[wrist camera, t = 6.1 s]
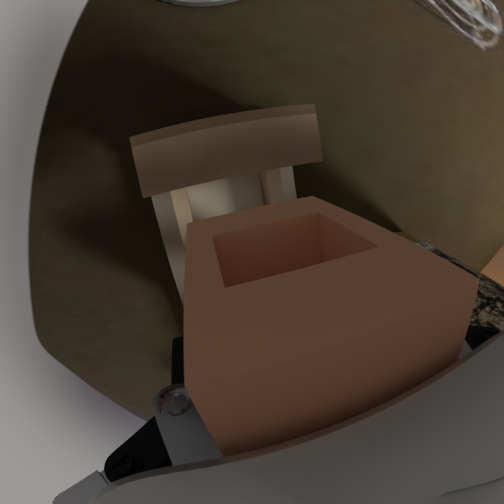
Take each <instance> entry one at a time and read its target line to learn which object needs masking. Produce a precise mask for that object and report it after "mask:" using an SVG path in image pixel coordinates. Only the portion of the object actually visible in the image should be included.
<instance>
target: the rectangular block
mask: <svg viewBox="0 0 504 504" xmlns="http://www.w3.org/2000/svg"><path fill="white" fill-rule="evenodd" d="M479 282H480V279H479V278H477V277H475V276H473V275H472V274H470V273H468V272H467V271H465V270H463V269H461V268H460V267H458V266H456V265H454V264H453V263H451V262H449V261H447V260H445V259H444V258H442V257H440V256H438V255H436V254H434V253H432V252H431V251H429V250H427V249H425V248H423V247H421V246H419V245H417V244H415V243H413V242H411V241H409V240H407V239H405V238H403V237H401V236H399V235H397V234H395V233H393V232H391V231H389V230H387V229H385V228H383V227H381V226H379V225H377V224H375V223H373V222H371V221H368V220H366V219H364V218H362V217H360V216H358V215H355V214H353V213H351V212H349V211H347V210H344V209H342V208H340V207H337V206H335V205H333V204H331V203H328V202H326V201H324V200H321V199H319V198H317V197H314V196H309V197H304V198H299V199H294V200H289V201H284V202H279V203H274V204H270V205H265V206H260V207H255V208H251V209H246V210H242V211H237V212H233V213H228V214H224V215H220V216H215V217H211V218H207V219H203V220H198V221H194V222H190V223H187V233H186V251H185V276H184V384H185V388H186V390H187V392H188V394H189V396H190V398H191V400H192V402H193V404H194V405H195V407H196V409H197V411H198V413H199V415H200V417H201V418H202V420H203V422H204V424H205V426H206V427H207V429H208V431H209V433H210V434H211V436H212V438H213V440H214V441H215V443H216V445H217V446H218V448H219V450H220V451H221V453H222V454H223V456H224V457H225V456H230V455H235V454H239V453H243V452H248V451H252V450H256V449H260V448H264V447H268V446H271V445H275V444H279V443H282V442H285V441H289V440H292V439H295V438H298V437H301V436H304V435H307V434H310V433H313V432H316V431H319V430H321V429H324V428H327V427H330V426H332V425H335V424H337V423H340V422H342V421H345V420H347V419H350V418H352V417H354V416H357V415H359V414H361V413H364V412H366V411H368V410H370V409H372V408H375V407H377V406H379V405H381V404H383V403H385V402H387V401H389V400H391V399H393V398H395V397H397V396H399V395H401V394H403V393H404V392H406V391H408V390H410V389H412V388H414V387H415V386H417V385H419V384H421V383H423V382H424V381H426V380H428V379H429V378H431V377H433V376H434V375H436V374H438V373H439V372H441V371H442V370H444V369H446V368H447V367H449V366H450V365H452V364H453V363H455V362H456V361H457V360H458V357H459V354H460V351H461V348H462V345H463V342H464V339H465V336H466V333H467V330H468V326H469V323H470V319H471V316H472V312H473V308H474V304H475V300H476V296H477V291H478V287H479Z"/></svg>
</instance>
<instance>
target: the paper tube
mask: <svg viewBox="0 0 504 504" xmlns="http://www.w3.org/2000/svg"><path fill="white" fill-rule="evenodd" d="M394 233H395V234H397V235H399V236H401V237H403V238H405V239H407V240H409V241H411V242H413V243H415V244H417V245H419V246H421V247H423V248H425V249H427V250H429V251H431V252H432V253H434V254H436V255H438V256H440V257H442V258H444V259H445V260H447V261H449V262H451V263H453V264H454V265H456V266H458V267H460V268H461V269H463V270H465V271H467V272H468V273H470V274H472V275H473V276H475V277H477V278H479V279H480V282H479V287H478V291H477V296H476V300H475V304H474V308H473V312H472V316H471V319H470V323H469V325H475V326H486V327H491V328H494V329H496V330H497V331H499V332H501V331H503V330H504V287H503V286H502V285H500V284H498V283H497V282H495V281H494V280H492V279H490V278H488V277H487V276H485V275H483V274H482V273H480V272H478V271H477V270H475V269H473V268H471V267H470V266H468V265H466V264H464V263H462V262H461V261H459V260H457V259H455V258H453V257H451V256H450V255H448V254H446V253H444V252H442V251H440V250H438V249H436V248H434V247H433V246H431V245H429V244H427V243H424V242H422V241H420V240H418V239H416V238H414V237H412V236H410V235H408V234H406V233H403V232H394Z"/></svg>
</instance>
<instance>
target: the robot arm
mask: <svg viewBox="0 0 504 504" xmlns="http://www.w3.org/2000/svg"><path fill="white" fill-rule="evenodd" d="M161 1H164V2H168V3H171V4H175V5H182V6H196V7H205V6H217V5H222V4H227V3H232V2H235V1H238V0H161ZM152 409H153V412H154V415H155V416H154V417H153V418H152V419H150V420H149V421H148V422H147V423H146V424H145V425H144V426H143V427H142V428H140V429H139V430H138V431H137V432H136V433H135V434H134V435H133V436H131V437H130V438H129V439H128V440H127V441H126V442H124V443H123V444H122V445H121V446H120V447H119V448H117V449H116V450H115V451H114V452H113V453H112V454H111V455H110V456H109V457H108V458H107V460H106V463H105V467H104V470H103V471H102V472H98V471H97V470H96V471H95V472H93V473H92V474H91V475H89V476H87V477H86V478H84V479H83V480H82V481H80V482H78V483H76V484H75V485H73V486H72V487H70V488H68V489H67V490H65V491H64V492H62V493H61V494H59V495H58V496H57V497H55V499H54V501H53V504H504V330H503V331H501V332H499V331H497V330H496V329H494V328H491V327H486V326H475V325H469V326H468V330H467V333H466V336H465V339H464V342H463V345H462V348H461V351H460V354H459V357H458V360H457V361H456V362H455V363H453V364H452V365H450V366H449V367H447V368H446V369H444V370H442V371H441V372H439V373H438V374H436V375H434V376H433V377H431V378H429V379H428V380H426V381H424V382H423V383H421V384H419V385H417V386H415V387H414V388H412V389H410V390H408V391H406V392H404V393H403V394H401V395H399V396H397V397H395V398H393V399H391V400H389V401H387V402H385V403H383V404H381V405H379V406H377V407H375V408H372V409H370V410H368V411H366V412H364V413H361V414H359V415H357V416H354V417H352V418H350V419H347V420H345V421H342V422H340V423H337V424H335V425H332V426H330V427H327V428H324V429H321V430H319V431H316V432H313V433H310V434H307V435H304V436H301V437H298V438H295V439H292V440H289V441H285V442H282V443H279V444H275V445H271V446H268V447H264V448H260V449H256V450H252V451H248V452H243V453H239V454H235V455H230V456H225V457H224V456H223V454H222V453H221V451H220V450H219V448H218V446H217V445H216V443H215V441H214V440H213V438H212V436H211V434H210V433H209V431H208V429H207V427H206V426H205V424H204V422H203V420H202V418H201V417H200V415H199V413H198V411H197V409H196V407H195V405H194V404H193V402H192V400H191V398H190V396H189V394H188V392H187V390H186V388H185V384H184V336H183V337H178V338H174V339H173V345H172V379H171V385H170V386H167V387H165V388H163V389H162V390H161V391H159V392H158V393H157V394H156V396H155V397H154V399H153V403H152Z"/></svg>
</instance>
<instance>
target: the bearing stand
mask: <svg viewBox="0 0 504 504" xmlns="http://www.w3.org/2000/svg"><path fill="white" fill-rule="evenodd" d="M129 138H130V143H131V148H132V153H133V158H134V162H135V167H136V171H137V175H138V180H139V184H140V188H141V192H142V196H143V198H146V197H150V196H151V198H152V202H153V206H154V209H155V213H156V217H157V221H158V225H159V228H160V232H161V235H162V239H163V242H164V246H165V249H166V253H167V256H168V260H169V263H170V266H171V269H172V273H173V276H174V279H175V282H176V285H177V288H178V291H179V294H180V298H181V301H182V303H183V306H184V276H185V251H186V233H187V223H190V222H194V221H198V220H203V219H207V218H211V217H215V216H220V215H224V214H228V213H233V212H237V211H242V210H246V209H251V208H255V207H260V206H265V205H270V204H274V203H279V202H284V201H289V200H294V199H297V196H296V189H295V182H294V175H293V168H292V166H294V165H301V164H307V163H314V162H320V161H323V156H322V149H321V142H320V135H319V129H318V122H317V116H316V110H315V105H314V104H306V105H294V106H283V107H274V108H266V109H258V110H251V111H244V112H238V113H231V114H226V115H220V116H215V117H209V118H204V119H199V120H195V121H190V122H186V123H181V124H177V125H173V126H169V127H165V128H161V129H157V130H153V131H150V132H146V133H142V134H139V135H136V136H132V137H129Z"/></svg>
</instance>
